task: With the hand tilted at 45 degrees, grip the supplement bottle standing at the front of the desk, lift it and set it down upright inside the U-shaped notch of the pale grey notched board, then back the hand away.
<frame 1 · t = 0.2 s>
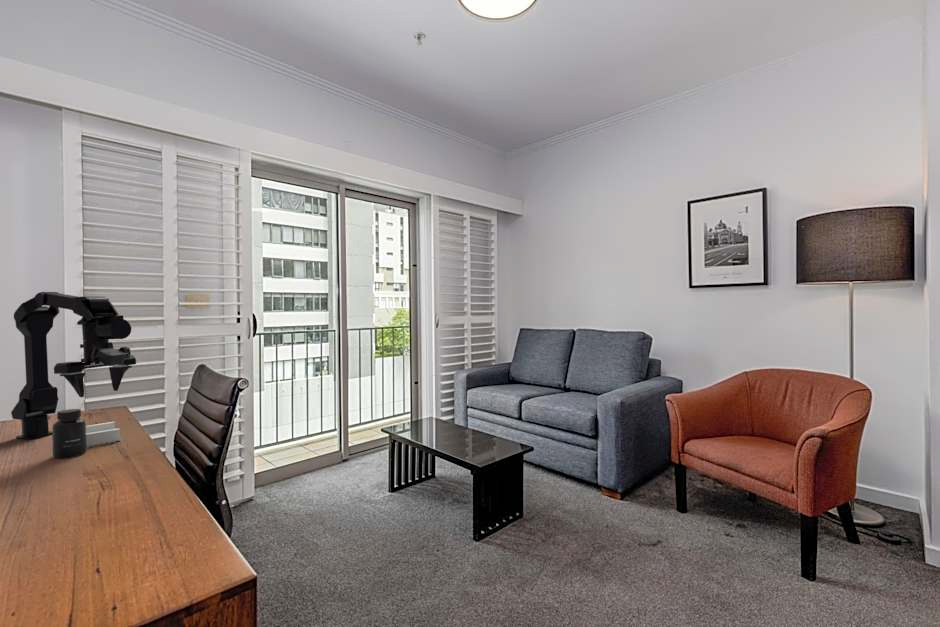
hand: (99, 393, 132), 14 cm above the table, tool pointing down, fingers open, 9 cm apart
supplement bottle: (70, 455, 123), on the table
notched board: (100, 439, 136), on the table
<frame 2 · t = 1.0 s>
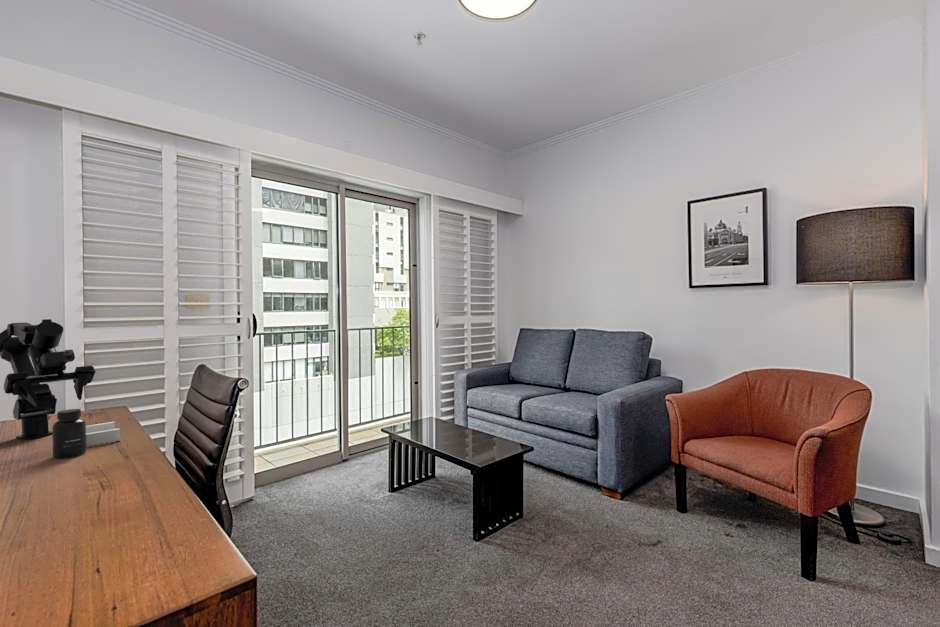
hand: (59, 402, 127), 13 cm above the table, tool tilted 45°, fingers open, 9 cm apart
nothing on the table moved.
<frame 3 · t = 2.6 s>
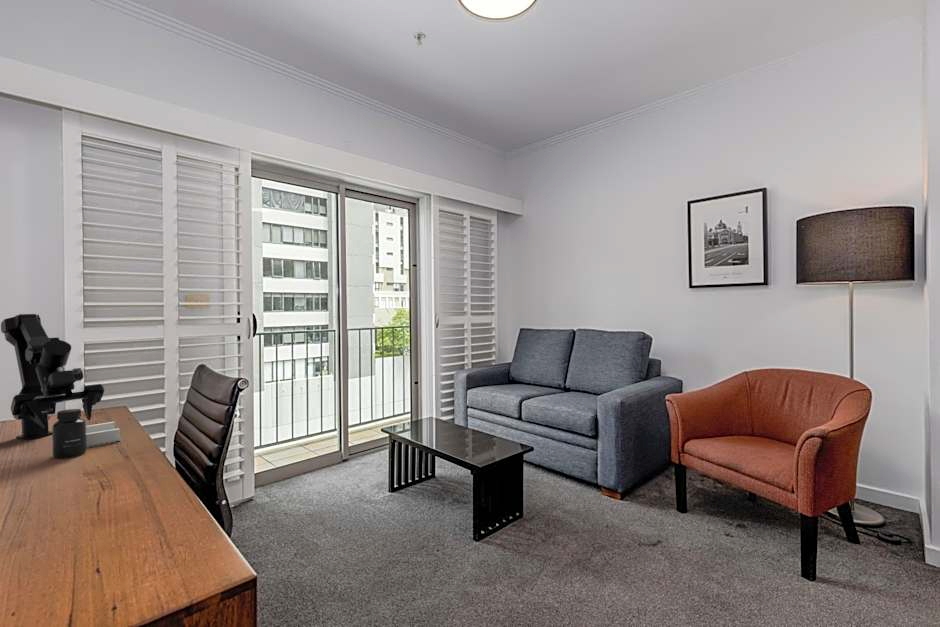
hand: (68, 423, 123), 9 cm above the table, tool tilted 45°, fingers open, 9 cm apart
nothing on the table moved.
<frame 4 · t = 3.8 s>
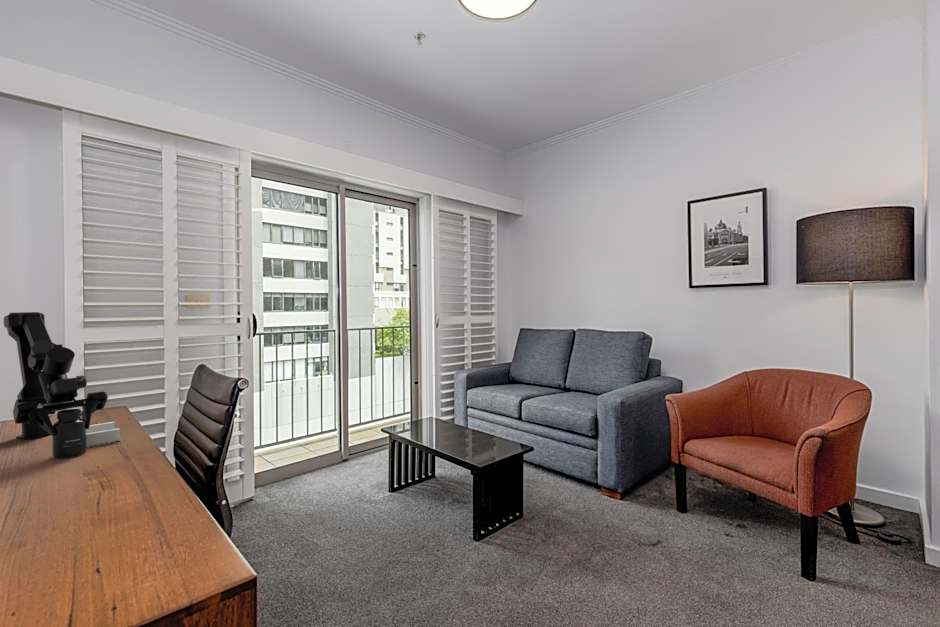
hand: (71, 431, 122), 7 cm above the table, tool tilted 45°, fingers closed on supplement bottle, 7 cm apart
supplement bottle: (70, 455, 123), on the table, touching gripper
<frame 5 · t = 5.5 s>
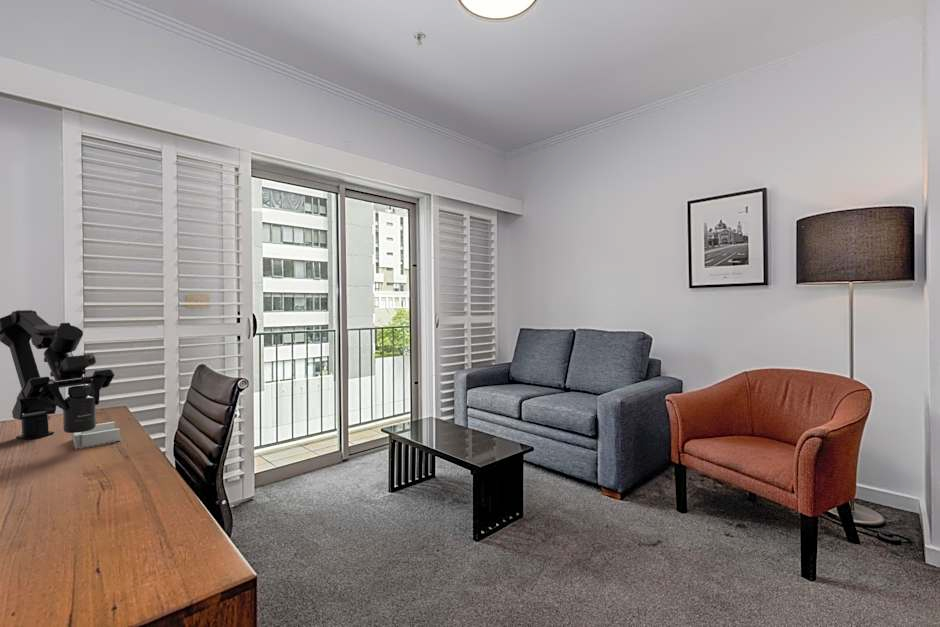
hand: (82, 406, 126), 12 cm above the table, tool tilted 45°, fingers closed on supplement bottle, 7 cm apart
supplement bottle: (80, 430, 126), point 5 cm above the table, touching gripper
when the fingers open (8 cm above the table, at t = 7.6 s): supplement bottle drops 1 cm, resting on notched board.
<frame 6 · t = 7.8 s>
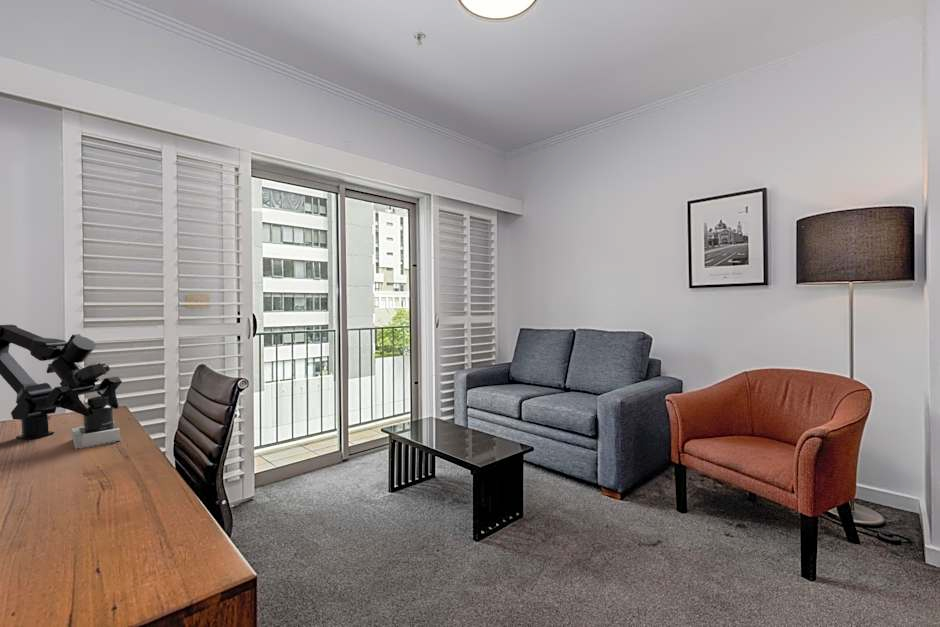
hand: (103, 411, 135), 9 cm above the table, tool tilted 45°, fingers open, 8 cm apart
supplement bottle: (99, 438, 136), resting on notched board
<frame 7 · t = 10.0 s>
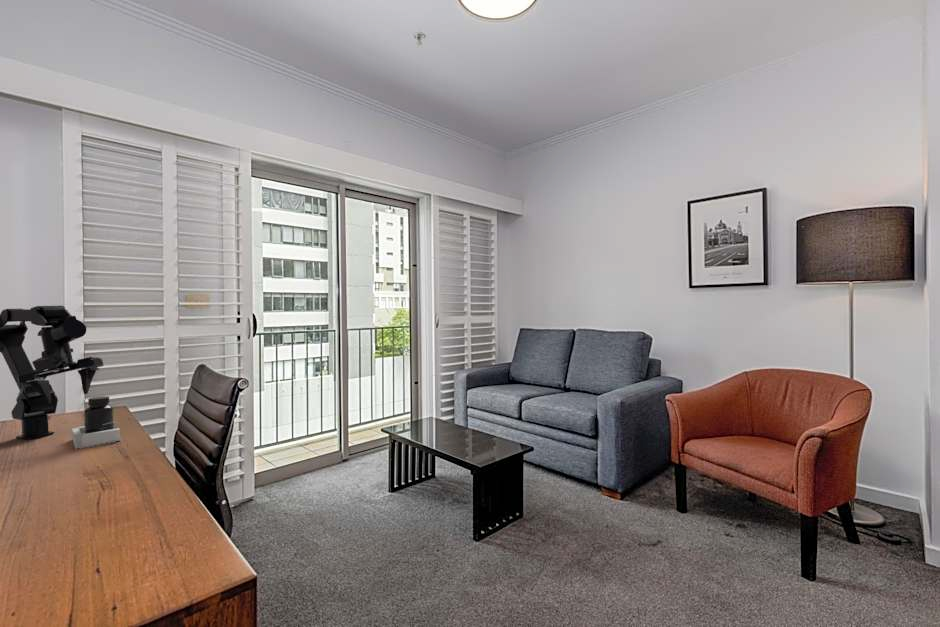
hand: (67, 398, 134), 13 cm above the table, tool tilted 15°, fingers open, 9 cm apart
nothing on the table moved.
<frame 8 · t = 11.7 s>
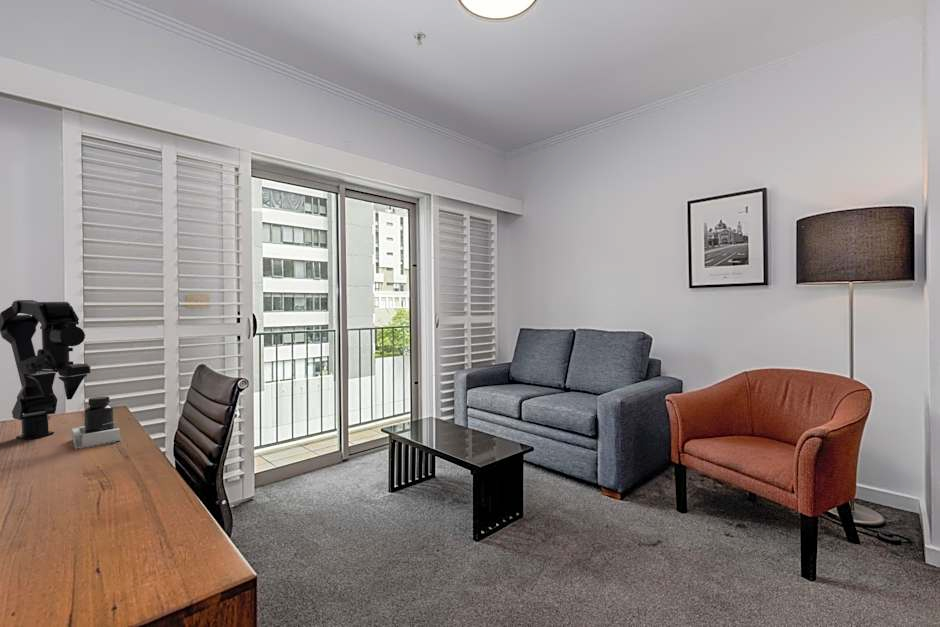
hand: (57, 398, 133), 13 cm above the table, tool pointing down, fingers open, 9 cm apart
nothing on the table moved.
at the end: supplement bottle 0.2 cm off-centre on the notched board, point 0.4 cm above the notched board's base; supplement bottle tilted 0°; the gripper is holding nothing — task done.
